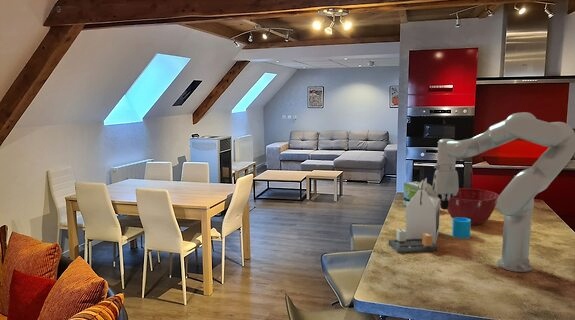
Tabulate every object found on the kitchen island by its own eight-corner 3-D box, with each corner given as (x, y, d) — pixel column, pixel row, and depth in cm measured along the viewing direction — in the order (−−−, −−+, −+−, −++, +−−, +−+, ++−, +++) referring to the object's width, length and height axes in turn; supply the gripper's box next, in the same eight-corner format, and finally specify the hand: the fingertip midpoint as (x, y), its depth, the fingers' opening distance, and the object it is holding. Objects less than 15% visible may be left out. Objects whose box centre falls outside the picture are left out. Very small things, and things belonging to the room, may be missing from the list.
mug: (468, 239, 218) (468, 222, 217) (450, 236, 223) (450, 220, 222) (473, 232, 228) (474, 216, 227) (456, 230, 233) (456, 214, 232)
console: (437, 250, 202) (437, 246, 202) (397, 252, 200) (397, 247, 200) (426, 242, 214) (426, 237, 214) (388, 244, 212) (388, 239, 212)
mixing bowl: (489, 232, 229) (491, 201, 227) (433, 223, 246) (434, 194, 244) (503, 219, 251) (504, 192, 249) (450, 212, 269) (451, 186, 266)
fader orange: (432, 246, 202) (432, 235, 201) (425, 246, 201) (425, 235, 201) (428, 243, 206) (428, 232, 205) (421, 243, 205) (422, 233, 205)
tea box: (402, 205, 285) (403, 182, 283) (415, 204, 289) (416, 181, 287) (419, 211, 272) (420, 186, 270) (432, 209, 276) (433, 185, 274)
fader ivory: (405, 241, 209) (405, 231, 208) (399, 241, 208) (399, 231, 208) (402, 238, 213) (402, 228, 212) (396, 238, 212) (396, 228, 212)
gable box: (412, 229, 236) (413, 175, 232) (439, 232, 231) (440, 177, 227) (405, 242, 216) (406, 183, 212) (434, 245, 211) (436, 185, 207)
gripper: (433, 169, 195) (431, 211, 198) (466, 168, 197) (464, 210, 200) (425, 166, 203) (424, 207, 205) (458, 165, 204) (456, 206, 207)
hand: (444, 208), depth 202 cm, fingers closed
